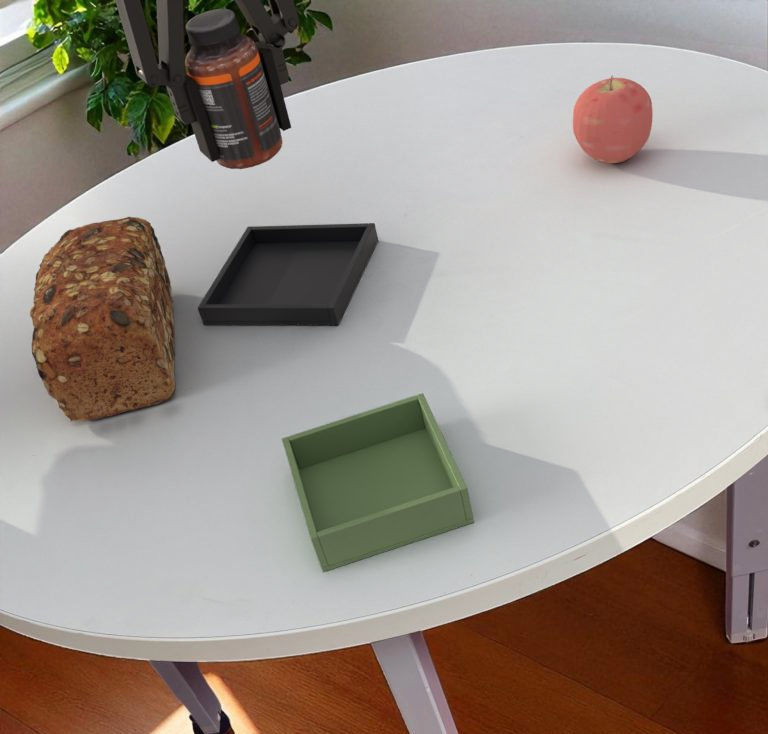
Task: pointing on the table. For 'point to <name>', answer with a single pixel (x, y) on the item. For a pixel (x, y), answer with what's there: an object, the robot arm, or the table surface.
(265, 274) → the black square tray
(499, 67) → the table surface
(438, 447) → the bin
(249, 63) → the supplement bottle
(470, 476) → the table surface
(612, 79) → the apple
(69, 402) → the bread
